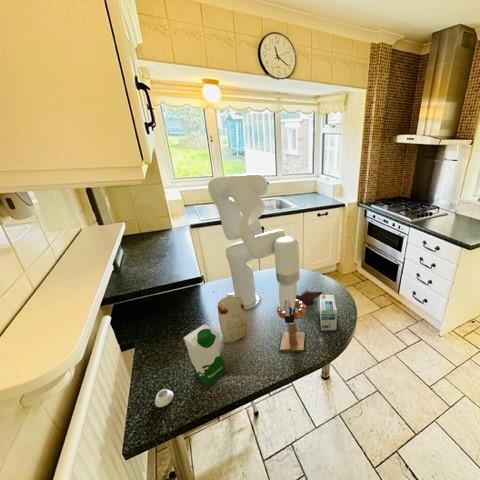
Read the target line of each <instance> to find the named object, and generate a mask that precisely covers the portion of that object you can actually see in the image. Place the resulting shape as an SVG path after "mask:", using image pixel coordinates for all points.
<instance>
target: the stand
mask: <svg viewBox="0 0 480 480" xmlns="http://www.w3.org/2000/svg"><path fill="white" fill-rule="evenodd" d="M287 329H288V331H282V335H281V339H280V346H279V351H304V350H305V336H306V331H297V319H295V320H294V323H287Z"/></svg>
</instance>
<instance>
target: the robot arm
mask: <svg viewBox="0 0 480 480" xmlns="http://www.w3.org/2000/svg"><path fill="white" fill-rule="evenodd" d="M207 186H208V194H209V196H210V198H211V200H212V202H213V204H214V205H215V207H216V209H217V212H218V216H219V219H220V221H221V222H220V223H221V226H222V230H223V234H224V236H225V238H226V239H227V240H228V241H236V240H240V241H237V242H234V243H231V244H229V245H228V246H227V247H226V248H225V257H226V259H227V262H228V265H229V271H230V274H231V275H230V276H231V280H232V281H231V282H232V286H233V293H226V297H229V296H231V297H241V298H242V300H243V304H244V308H245V310H246V309H251V308H253V307H254V306H256V305H258V303H259V302H260V301H261V299H260V298H261V297H260V296H259V294H257V293H256V292H257V291H256V285H255V277H254V270H253V268H252V266H251V265H250V264H248V262H252V261H254V260H260V259H264V258H268V257H270V256H273V255H274V265H275V276H276V277H275V279H276V282H277V283H278V287H279V288H278V301H279V302H278V303H279V304H278V305H279V307H280V310H283V309H284V311H285V319H284V323H286V324H288V323H294V312H296V306H295V301H296V295H297V286H298V285H297V283H298V282H299V281H300V277H301V276H300V251H299V250H300V249H299V241H298V240H297V239H296V238H295V237H292V236H291V235H289V233H288V232H287V231H286V230H285V229H282V228H278V229H275V230H271V231H267V232H263V227H262V224H261V222H260V219H259V218H260V217H262V215H263V214H264V212H265V211H266V204H265V203H264V201H263V200H262V197H261V196H264V195H266V194H267V193H268V191H269V185H268V181H267V179H266V177H265V176H263V174H261V173H257V172H256V173H255V172H254V173H241V174H232V175H224V176H217V177H214V178H212V179H210V180H209V182H208V183H207Z"/></svg>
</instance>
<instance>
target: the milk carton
mask: <svg viewBox="0 0 480 480" xmlns="http://www.w3.org/2000/svg"><path fill="white" fill-rule="evenodd" d="M183 341H184V343H185V346H186V348H187V349H186V350H187V352H188V355H189V359H190V362H191V366H192V370H193V373H194V376H195V377H196V378H197V379H198V380H199V382H201V383H202V384H203V385H205V386H206V388H210V387H211V386H212V385H213V384H214V383H215V382H216V381H218V380H219V379H220V378H221V377H223V373H225V371H226V366H225V361H224V357H223V352H222V347H221V343H220V333H219V332H218V331H217V330H215V329H213V328H212V327H211V326H210V325H209V326H208V325H207V324H206V323H203V324H201V326H199V327H198V328H196V329H195V330H193V331H191V332H189V333H188V334H187V335H186V336H183Z"/></svg>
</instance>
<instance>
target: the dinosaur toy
mask: <svg viewBox="0 0 480 480" xmlns="http://www.w3.org/2000/svg"><path fill="white" fill-rule="evenodd" d="M323 294H324V292H323V291H309V290H308V289H306V290H305V291H303V292H302V293H301V294H300V295H298V294H296V299H297V300H300V301H302V302H303V303H304V304H305V305H312V304H313V301H315V300H316V299H317V298H318V297H320V295H323Z"/></svg>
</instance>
